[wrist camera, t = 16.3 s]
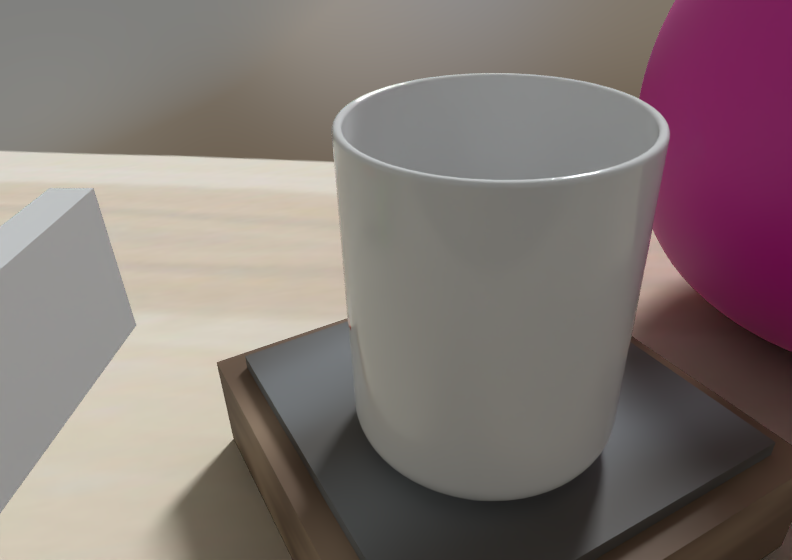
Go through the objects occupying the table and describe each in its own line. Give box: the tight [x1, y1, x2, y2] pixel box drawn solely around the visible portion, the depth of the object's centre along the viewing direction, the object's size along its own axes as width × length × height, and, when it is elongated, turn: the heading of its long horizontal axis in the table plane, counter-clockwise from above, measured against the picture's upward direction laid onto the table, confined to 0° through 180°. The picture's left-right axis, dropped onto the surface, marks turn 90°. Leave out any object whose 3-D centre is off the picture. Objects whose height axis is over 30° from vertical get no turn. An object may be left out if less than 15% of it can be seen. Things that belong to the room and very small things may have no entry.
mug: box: [332, 73, 670, 501], centre depth 22 cm, size 12×9×11 cm
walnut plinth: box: [217, 318, 792, 560], centre depth 26 cm, size 16×16×5 cm
